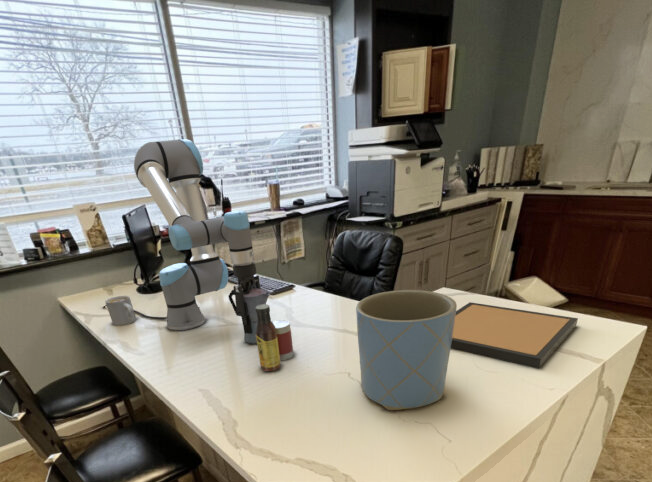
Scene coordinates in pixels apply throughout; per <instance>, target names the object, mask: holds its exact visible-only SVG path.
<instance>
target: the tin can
mask: <svg viewBox="0 0 652 482" xmlns="http://www.w3.org/2000/svg"><path fill="white" fill-rule="evenodd" d="M271 322H272V323H273V324H274V325H275V328H276V334H277V339H278V347H279V355H280V361H286V360H290V359H292V358H293V356H294V346H293V337H292V336H293V335H292V329H291V322H290V321H289V320H285V319H281V320H279V319H278V320H273V321H271Z"/></svg>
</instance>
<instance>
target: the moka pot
mask: <svg viewBox="0 0 652 482" xmlns="http://www.w3.org/2000/svg"><path fill="white" fill-rule="evenodd" d="M243 293H247V292H243ZM233 296H235V292H234V289H232V290H231V291H230V292H229V294H228V301H229V302H230V304H231V306H232V309H233V311H234V313H235V315H236V316H237V312H236V302H235V301H234V298H233ZM270 296H271V294H270V293H269V292H267V291H265V289H264V288H263V289H262V288H261V289H258V288H257V289H253V284H251V287H250V293H249V294H248V295H243V298H244V302H246V304H247V308H248V315H249V316H250V322H251V328H252V334H248V333H244V342H245V343H248V344H252V345H253V344H255V345H257V340H256V334H255V333H256V328H257V323H258V318H257V313H256V309H255V307H256V306H258V305H261V304H266V305H267V302H268V299H269V297H270Z"/></svg>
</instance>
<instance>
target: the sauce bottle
mask: <svg viewBox="0 0 652 482" xmlns="http://www.w3.org/2000/svg"><path fill="white" fill-rule="evenodd" d="M255 309H256V313H257V318H258V323H257V328H256V333H255V334H256V340H257V344H256V346H257V352H258V353H257V354H258V359H259V364H260V367H261V369H262V371H264V372H275V371H277V370H279V369H280V367H281V360H280V355H279V347H278V339H277V334H276V328H275V325H274V324H273V323H272V322H273V321H272V318H271V313H270V312H271V308H270V305H269V304H267V303H266V304H261V305H258V306H256V307H255Z"/></svg>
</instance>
